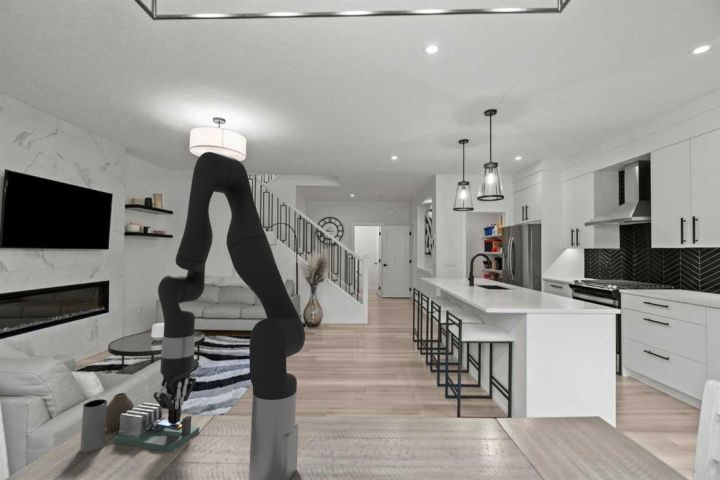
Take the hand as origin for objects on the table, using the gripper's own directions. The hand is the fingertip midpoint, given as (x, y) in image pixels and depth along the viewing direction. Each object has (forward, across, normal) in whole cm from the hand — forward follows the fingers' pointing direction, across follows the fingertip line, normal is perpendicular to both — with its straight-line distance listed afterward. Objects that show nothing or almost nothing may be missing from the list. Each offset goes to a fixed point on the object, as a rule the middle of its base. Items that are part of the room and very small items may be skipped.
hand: (174, 422), depth 90 cm
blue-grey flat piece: (+1, 0, +1) cm, 2 cm away
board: (+4, -1, +4) cm, 5 cm away
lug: (+2, 0, -3) cm, 4 cm away
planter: (+4, -9, +14) cm, 17 cm away
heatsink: (+2, -1, +8) cm, 8 cm away
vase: (+4, 0, +16) cm, 17 cm away
